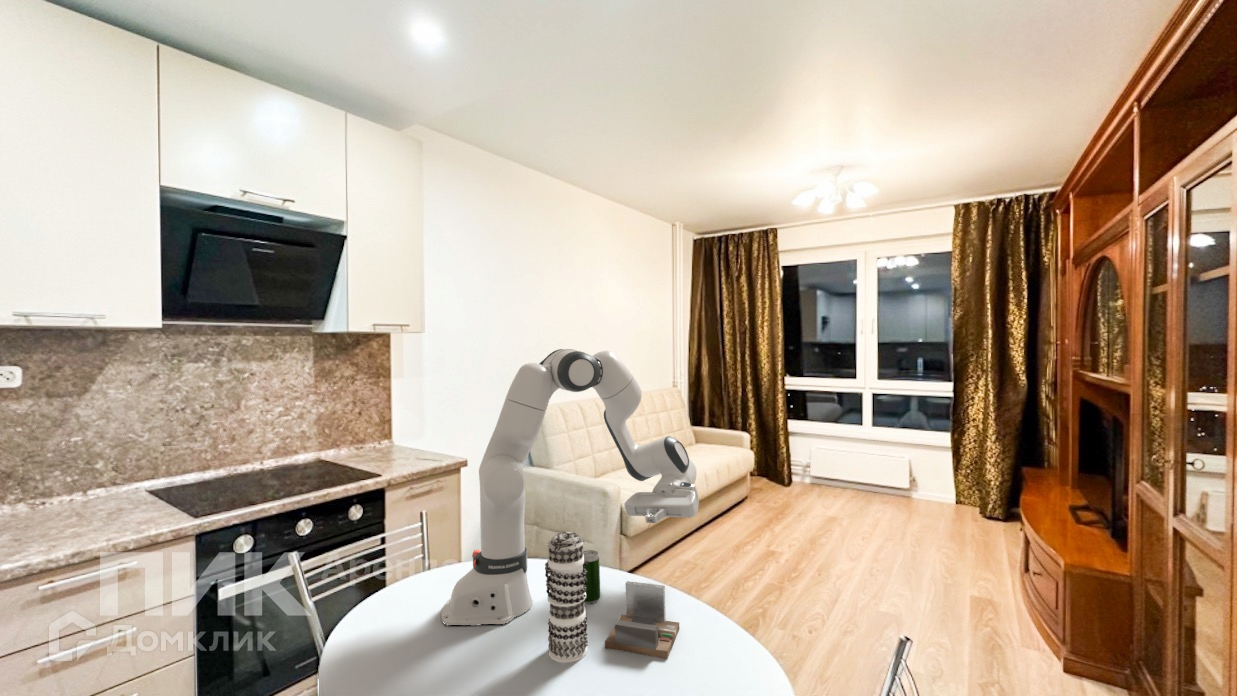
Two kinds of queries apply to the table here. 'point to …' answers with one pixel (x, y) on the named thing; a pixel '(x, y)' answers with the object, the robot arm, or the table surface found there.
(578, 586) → the decorative candle
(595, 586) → the green soda can
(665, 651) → the base
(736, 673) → the table surface
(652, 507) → the robot arm
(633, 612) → the brushed metal plate
